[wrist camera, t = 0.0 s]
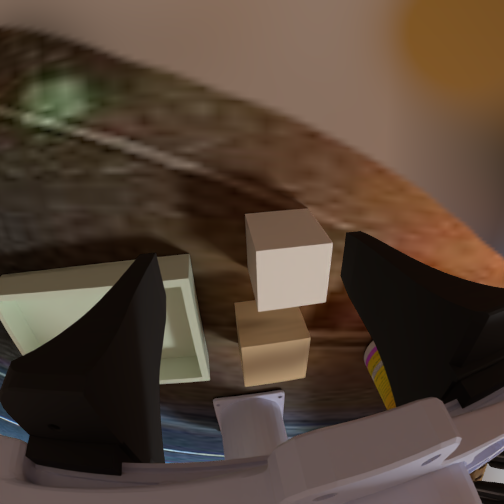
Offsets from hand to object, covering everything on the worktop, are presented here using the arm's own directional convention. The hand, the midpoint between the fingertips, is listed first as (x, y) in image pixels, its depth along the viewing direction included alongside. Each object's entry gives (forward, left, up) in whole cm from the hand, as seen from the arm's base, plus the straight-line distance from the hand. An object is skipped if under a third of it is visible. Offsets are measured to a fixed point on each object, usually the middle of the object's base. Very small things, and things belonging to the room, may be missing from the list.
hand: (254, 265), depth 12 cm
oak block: (-13, -2, -10) cm, 17 cm away
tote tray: (-11, +12, -10) cm, 19 cm away
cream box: (-5, -3, -10) cm, 12 cm away
